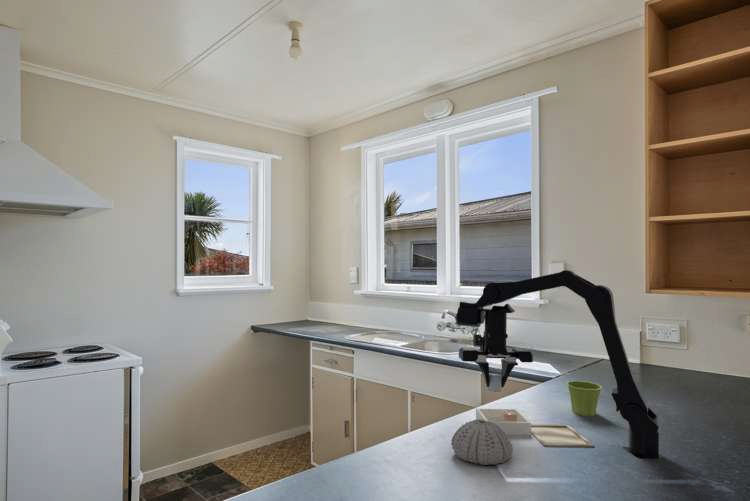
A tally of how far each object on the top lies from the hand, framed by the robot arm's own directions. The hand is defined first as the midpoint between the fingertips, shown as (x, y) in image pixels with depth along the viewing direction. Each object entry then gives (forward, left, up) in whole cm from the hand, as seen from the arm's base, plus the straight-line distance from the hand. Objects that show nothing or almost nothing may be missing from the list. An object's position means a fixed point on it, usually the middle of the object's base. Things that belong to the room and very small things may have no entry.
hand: (494, 387), depth 126 cm
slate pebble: (0, 0, -1) cm, 1 cm away
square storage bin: (-2, -1, -10) cm, 11 cm away
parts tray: (-8, -13, -10) cm, 19 cm away
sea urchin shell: (-20, +9, -11) cm, 25 cm away
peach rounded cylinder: (-4, -3, -10) cm, 11 cm away
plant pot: (+11, -29, -10) cm, 33 cm away
